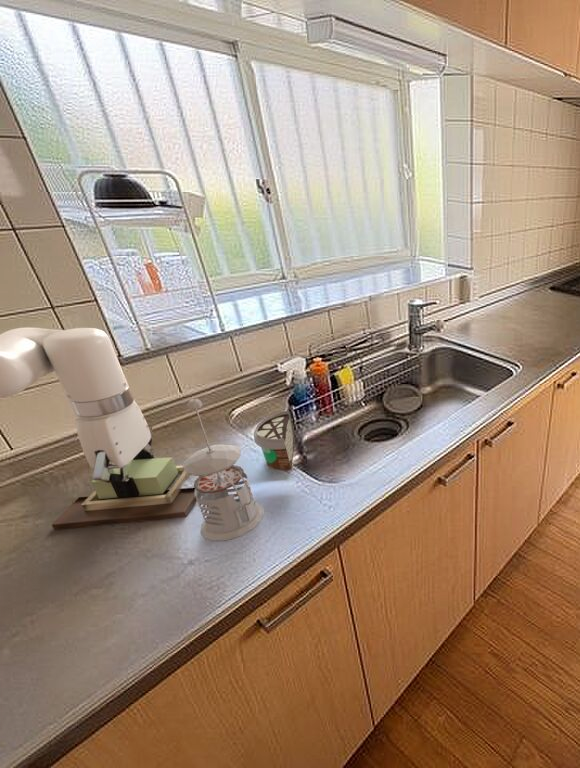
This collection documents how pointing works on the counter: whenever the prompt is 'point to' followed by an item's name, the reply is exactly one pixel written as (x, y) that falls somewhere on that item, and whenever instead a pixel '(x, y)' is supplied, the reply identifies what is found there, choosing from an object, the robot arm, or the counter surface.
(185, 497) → the back board
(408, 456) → the counter surface
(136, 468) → the green rectangular block
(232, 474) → the french press
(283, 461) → the food container
